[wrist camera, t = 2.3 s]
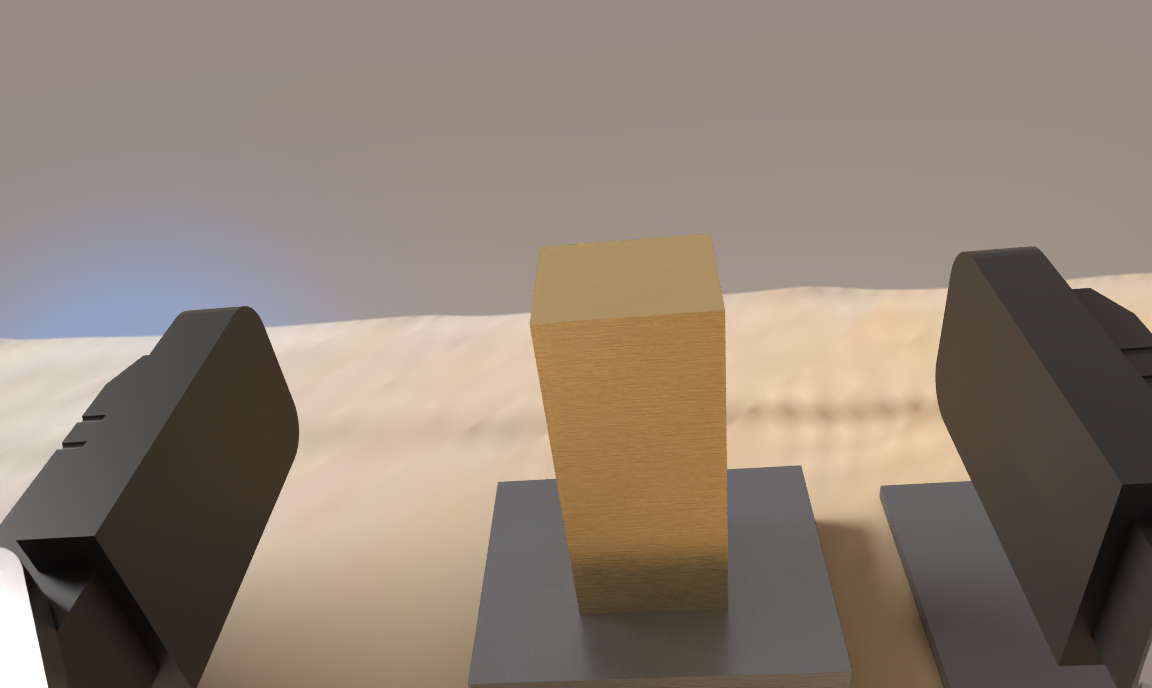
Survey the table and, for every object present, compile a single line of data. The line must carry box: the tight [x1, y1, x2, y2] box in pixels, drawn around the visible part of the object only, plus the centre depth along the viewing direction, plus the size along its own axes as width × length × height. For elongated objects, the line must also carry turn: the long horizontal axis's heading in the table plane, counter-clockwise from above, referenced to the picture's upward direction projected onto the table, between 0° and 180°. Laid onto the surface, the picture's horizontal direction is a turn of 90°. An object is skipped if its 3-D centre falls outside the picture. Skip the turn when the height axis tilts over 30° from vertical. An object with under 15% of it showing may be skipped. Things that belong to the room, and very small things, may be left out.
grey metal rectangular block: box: [468, 466, 852, 688], centre depth 32 cm, size 12×9×3 cm
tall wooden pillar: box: [530, 234, 728, 614], centre depth 27 cm, size 5×4×12 cm
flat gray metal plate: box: [880, 481, 1117, 688], centre depth 31 cm, size 11×11×1 cm
